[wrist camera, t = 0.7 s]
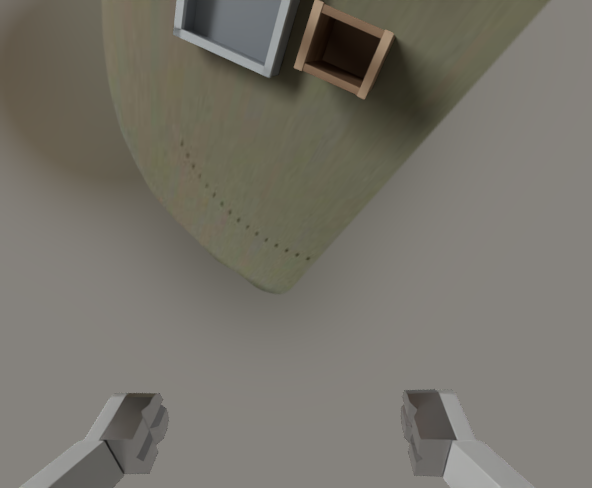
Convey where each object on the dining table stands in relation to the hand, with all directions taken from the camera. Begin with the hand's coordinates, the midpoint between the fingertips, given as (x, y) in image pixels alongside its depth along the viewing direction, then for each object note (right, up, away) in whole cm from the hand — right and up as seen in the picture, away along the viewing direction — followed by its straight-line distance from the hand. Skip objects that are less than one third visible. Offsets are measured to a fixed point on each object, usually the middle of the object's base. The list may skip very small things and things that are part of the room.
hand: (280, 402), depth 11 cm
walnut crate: (+8, +29, +30) cm, 43 cm away
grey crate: (-6, +36, +31) cm, 48 cm away
